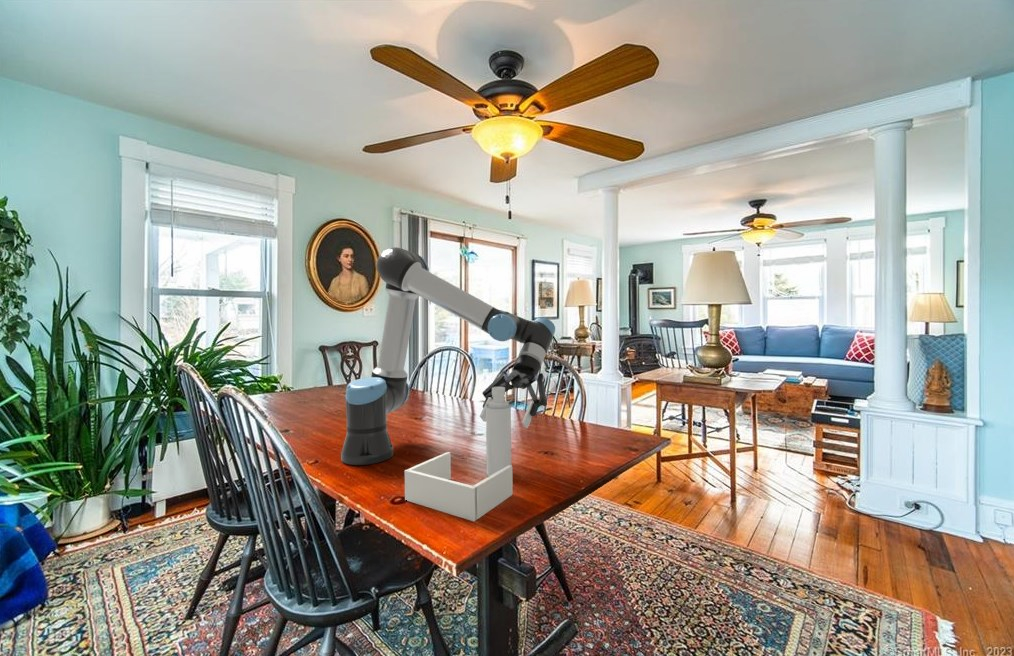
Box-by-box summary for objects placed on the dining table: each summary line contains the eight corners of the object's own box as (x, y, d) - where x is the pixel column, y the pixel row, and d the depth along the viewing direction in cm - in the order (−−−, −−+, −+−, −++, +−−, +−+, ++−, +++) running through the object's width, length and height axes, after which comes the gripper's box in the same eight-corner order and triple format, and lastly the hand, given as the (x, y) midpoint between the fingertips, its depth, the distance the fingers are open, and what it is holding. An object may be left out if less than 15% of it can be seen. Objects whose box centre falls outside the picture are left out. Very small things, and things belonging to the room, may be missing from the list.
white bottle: (511, 469, 119) (511, 379, 118) (510, 478, 112) (510, 383, 112) (487, 469, 119) (486, 379, 118) (485, 478, 113) (485, 383, 112)
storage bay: (405, 500, 100) (404, 470, 100) (447, 478, 113) (447, 451, 113) (474, 521, 89) (473, 488, 89) (512, 494, 102) (512, 465, 102)
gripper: (571, 371, 124) (548, 435, 112) (499, 366, 137) (472, 423, 125) (563, 355, 119) (538, 420, 107) (490, 351, 133) (460, 409, 121)
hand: (502, 422), depth 116 cm, fingers open, 13 cm apart
